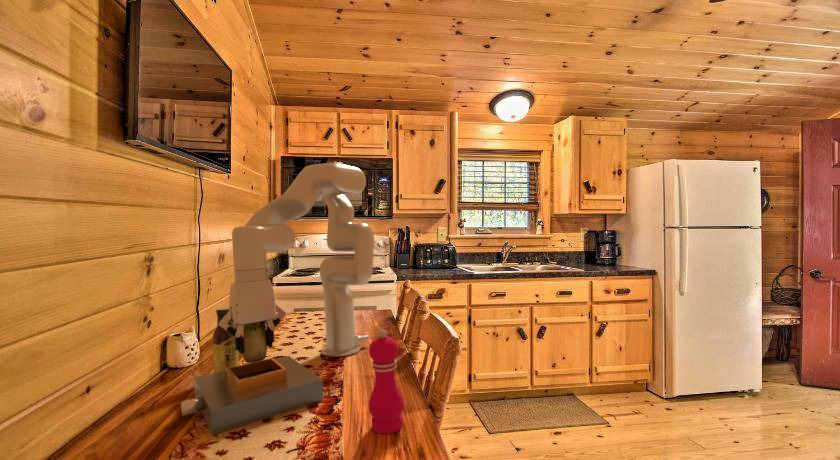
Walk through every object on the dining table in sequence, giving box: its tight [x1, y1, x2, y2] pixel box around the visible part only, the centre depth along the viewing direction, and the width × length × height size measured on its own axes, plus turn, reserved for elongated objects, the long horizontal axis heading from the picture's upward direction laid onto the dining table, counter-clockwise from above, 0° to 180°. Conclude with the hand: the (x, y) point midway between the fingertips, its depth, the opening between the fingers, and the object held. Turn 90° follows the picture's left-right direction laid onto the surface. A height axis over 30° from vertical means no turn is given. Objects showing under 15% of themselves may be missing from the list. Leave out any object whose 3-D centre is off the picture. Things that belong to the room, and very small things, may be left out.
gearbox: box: [180, 355, 324, 436], centre depth 99 cm, size 28×24×8 cm
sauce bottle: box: [212, 306, 239, 373], centre depth 114 cm, size 6×6×20 cm
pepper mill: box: [368, 329, 405, 435], centre depth 83 cm, size 7×7×20 cm
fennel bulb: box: [242, 321, 268, 363], centre depth 100 cm, size 6×5×12 cm
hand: (255, 348), depth 100 cm, fingers closed on fennel bulb, 6 cm apart
